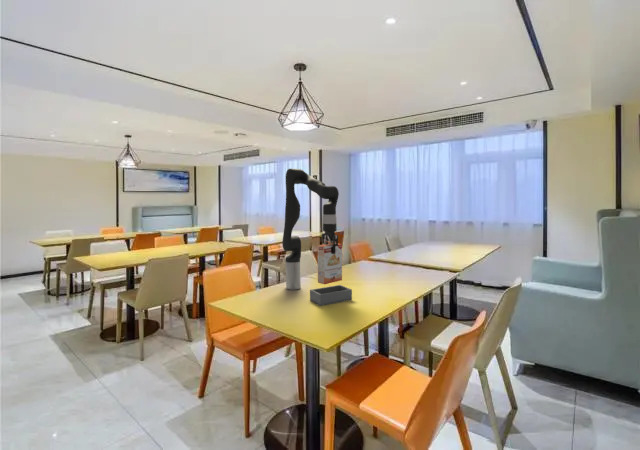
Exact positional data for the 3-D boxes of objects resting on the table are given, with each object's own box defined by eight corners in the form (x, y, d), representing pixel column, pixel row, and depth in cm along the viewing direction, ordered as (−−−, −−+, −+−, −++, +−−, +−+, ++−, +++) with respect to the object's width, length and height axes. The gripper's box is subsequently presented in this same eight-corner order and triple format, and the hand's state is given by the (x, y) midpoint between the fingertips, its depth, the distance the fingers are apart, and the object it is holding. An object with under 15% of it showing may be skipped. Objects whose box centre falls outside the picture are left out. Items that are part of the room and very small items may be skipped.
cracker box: (324, 285, 180) (324, 246, 178) (317, 283, 184) (316, 245, 183) (343, 280, 189) (342, 243, 188) (335, 278, 194) (334, 242, 192)
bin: (310, 300, 188) (309, 289, 187) (340, 294, 197) (340, 284, 197) (320, 306, 177) (320, 294, 177) (351, 300, 187) (351, 289, 186)
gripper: (317, 222, 189) (317, 251, 190) (330, 223, 176) (330, 255, 177) (328, 221, 192) (329, 250, 193) (342, 223, 180) (342, 254, 181)
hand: (330, 252), depth 185 cm, fingers closed on cracker box, 6 cm apart
